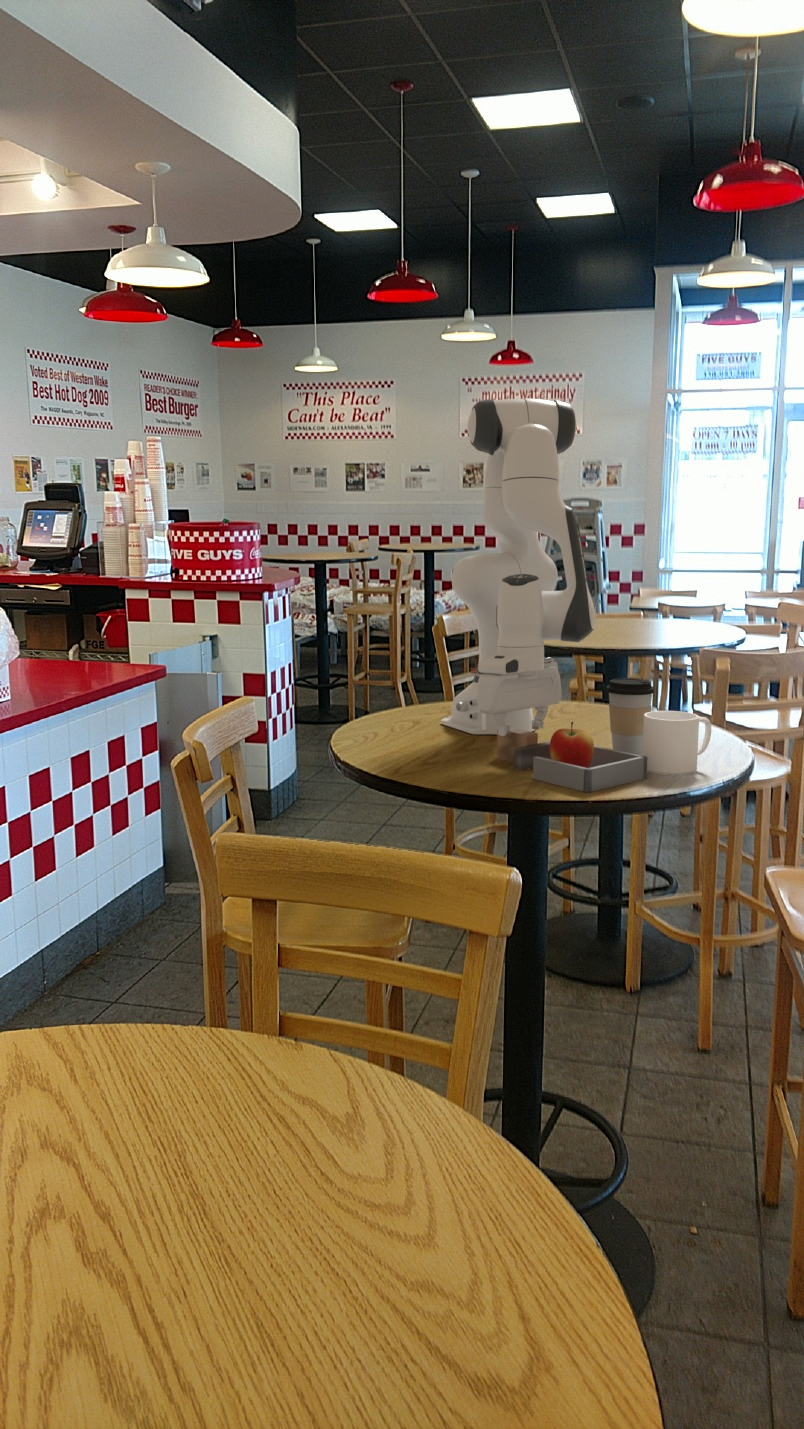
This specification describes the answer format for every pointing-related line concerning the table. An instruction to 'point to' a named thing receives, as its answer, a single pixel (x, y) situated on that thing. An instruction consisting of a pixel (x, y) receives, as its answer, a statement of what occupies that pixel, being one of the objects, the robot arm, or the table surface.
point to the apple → (572, 747)
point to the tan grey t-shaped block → (521, 748)
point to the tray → (593, 770)
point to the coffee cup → (628, 712)
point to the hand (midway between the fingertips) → (521, 732)
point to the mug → (673, 741)
